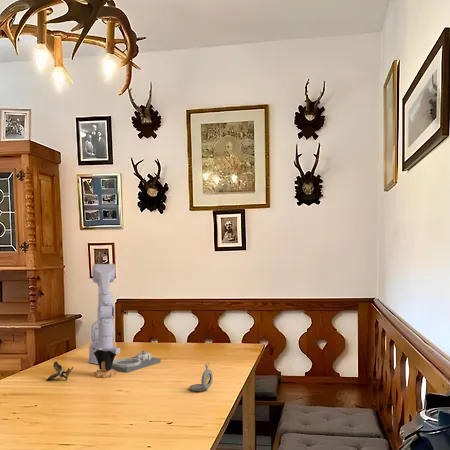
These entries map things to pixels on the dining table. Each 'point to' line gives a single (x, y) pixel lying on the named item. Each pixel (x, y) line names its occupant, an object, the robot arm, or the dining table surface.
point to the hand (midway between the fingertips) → (105, 369)
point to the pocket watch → (203, 381)
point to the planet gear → (104, 372)
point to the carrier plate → (134, 362)
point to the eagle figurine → (60, 371)
